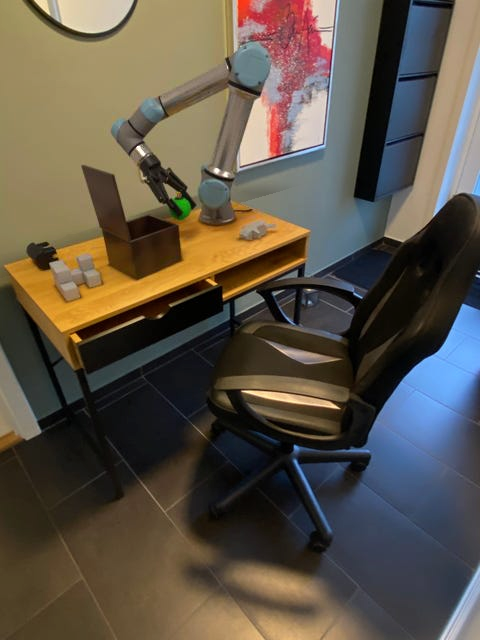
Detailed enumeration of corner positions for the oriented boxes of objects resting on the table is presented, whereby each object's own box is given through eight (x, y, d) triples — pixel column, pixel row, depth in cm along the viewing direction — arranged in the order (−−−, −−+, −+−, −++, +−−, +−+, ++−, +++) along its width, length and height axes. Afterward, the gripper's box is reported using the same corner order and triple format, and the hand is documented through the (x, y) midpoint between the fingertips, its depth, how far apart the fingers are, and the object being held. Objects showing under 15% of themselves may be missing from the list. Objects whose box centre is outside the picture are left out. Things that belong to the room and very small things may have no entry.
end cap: (29, 262, 138) (23, 244, 134) (50, 256, 142) (45, 238, 138) (39, 272, 132) (33, 253, 128) (61, 266, 136) (55, 247, 132)
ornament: (185, 214, 153) (182, 187, 147) (196, 220, 147) (193, 193, 142) (166, 218, 149) (163, 191, 143) (176, 225, 143) (173, 197, 138)
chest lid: (83, 164, 116) (80, 165, 116) (114, 174, 107) (111, 175, 107) (102, 227, 129) (100, 228, 128) (131, 240, 120) (128, 241, 119)
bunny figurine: (233, 227, 153) (261, 213, 160) (235, 239, 156) (261, 225, 163) (251, 234, 147) (278, 219, 154) (252, 246, 150) (278, 231, 158)
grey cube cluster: (67, 301, 117) (60, 278, 112) (55, 285, 125) (48, 262, 120) (106, 289, 122) (101, 266, 118) (93, 274, 130) (88, 252, 126)
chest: (153, 247, 148) (149, 213, 140) (182, 260, 139) (178, 224, 131) (109, 264, 136) (101, 229, 129) (136, 280, 127) (130, 242, 120)
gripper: (159, 161, 152) (197, 208, 155) (122, 174, 137) (165, 226, 140) (168, 147, 147) (208, 196, 150) (131, 159, 132) (176, 214, 135)
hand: (187, 211), depth 145 cm, fingers closed on ornament, 8 cm apart
